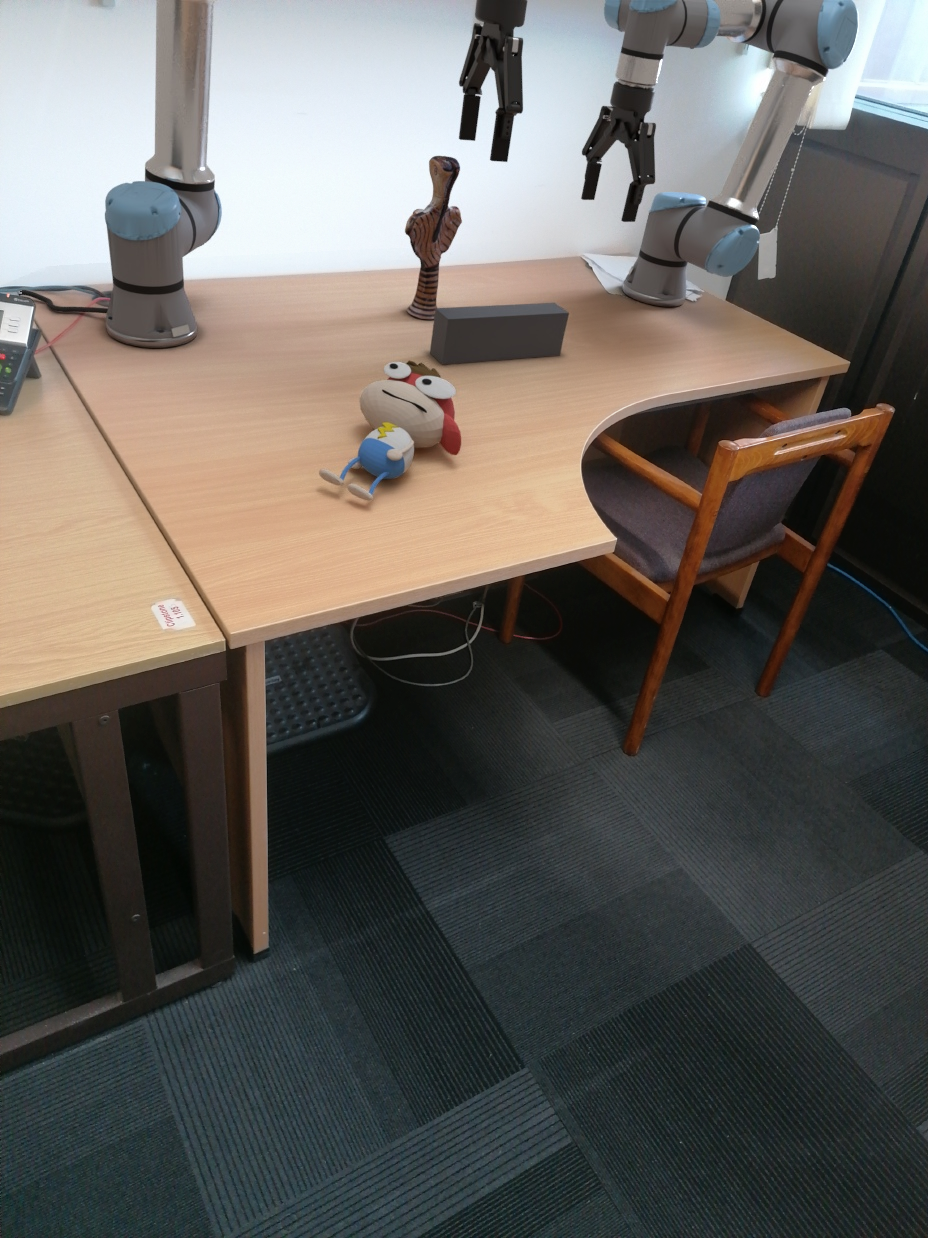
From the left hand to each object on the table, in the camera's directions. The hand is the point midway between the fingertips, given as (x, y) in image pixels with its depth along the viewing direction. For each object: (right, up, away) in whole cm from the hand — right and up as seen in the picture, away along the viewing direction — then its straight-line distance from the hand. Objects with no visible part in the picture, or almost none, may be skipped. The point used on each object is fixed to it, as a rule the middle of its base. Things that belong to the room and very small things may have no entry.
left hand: (482, 149), depth 144 cm
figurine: (-11, -13, +40) cm, 43 cm away
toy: (-14, -52, -9) cm, 54 cm away
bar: (+3, -25, +28) cm, 38 cm away
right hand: (+25, +3, +27) cm, 36 cm away
